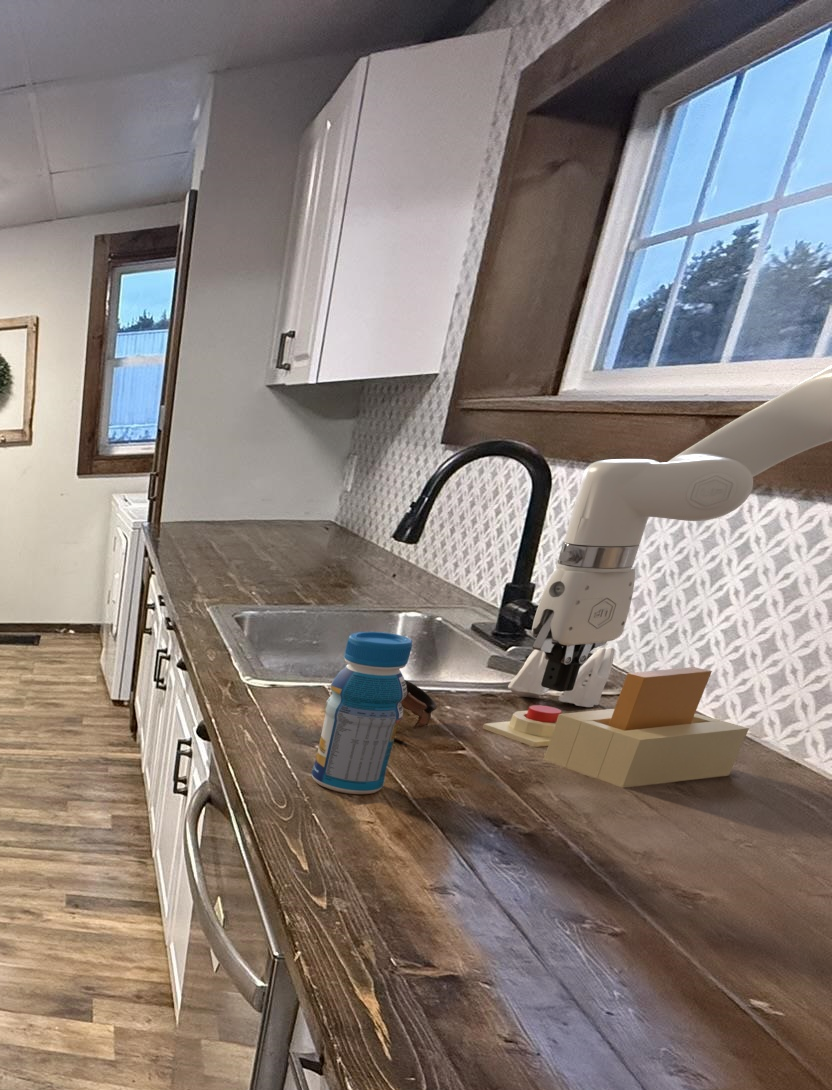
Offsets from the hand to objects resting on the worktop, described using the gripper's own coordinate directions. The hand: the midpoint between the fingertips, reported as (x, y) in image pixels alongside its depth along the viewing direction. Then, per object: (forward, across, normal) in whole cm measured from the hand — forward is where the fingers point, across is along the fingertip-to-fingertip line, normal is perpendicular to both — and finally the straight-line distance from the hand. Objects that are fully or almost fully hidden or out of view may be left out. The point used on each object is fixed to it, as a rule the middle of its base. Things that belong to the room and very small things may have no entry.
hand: (556, 688), depth 117 cm
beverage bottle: (+8, -36, -6) cm, 38 cm away
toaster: (+9, 0, -13) cm, 15 cm away
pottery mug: (+8, -14, +12) cm, 21 cm away
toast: (+7, 0, -13) cm, 15 cm away
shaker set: (+9, +20, +15) cm, 26 cm away
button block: (+8, 0, 0) cm, 9 cm away
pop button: (+5, 0, 0) cm, 5 cm away
